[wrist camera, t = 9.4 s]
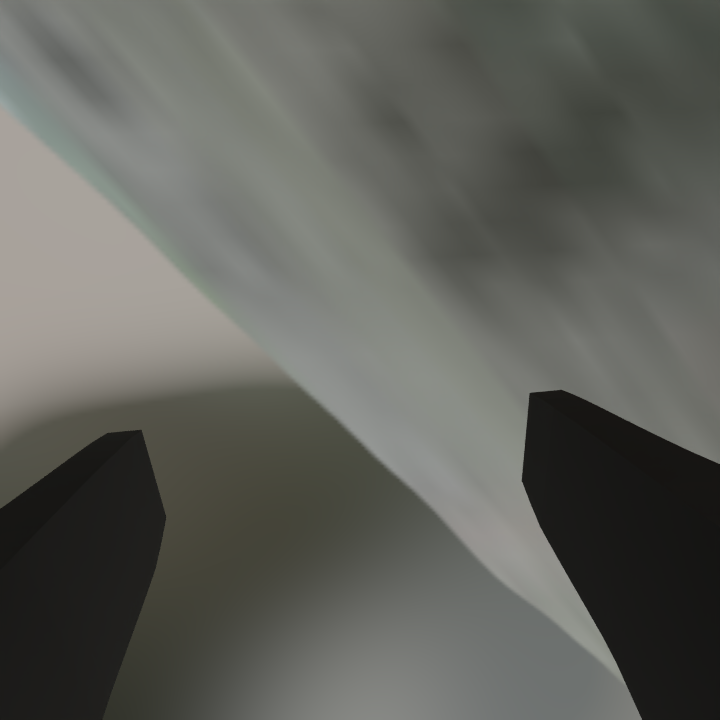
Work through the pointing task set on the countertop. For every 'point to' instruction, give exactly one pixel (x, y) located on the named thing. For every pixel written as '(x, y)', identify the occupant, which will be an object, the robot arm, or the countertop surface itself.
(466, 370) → the countertop surface
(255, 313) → the countertop surface
